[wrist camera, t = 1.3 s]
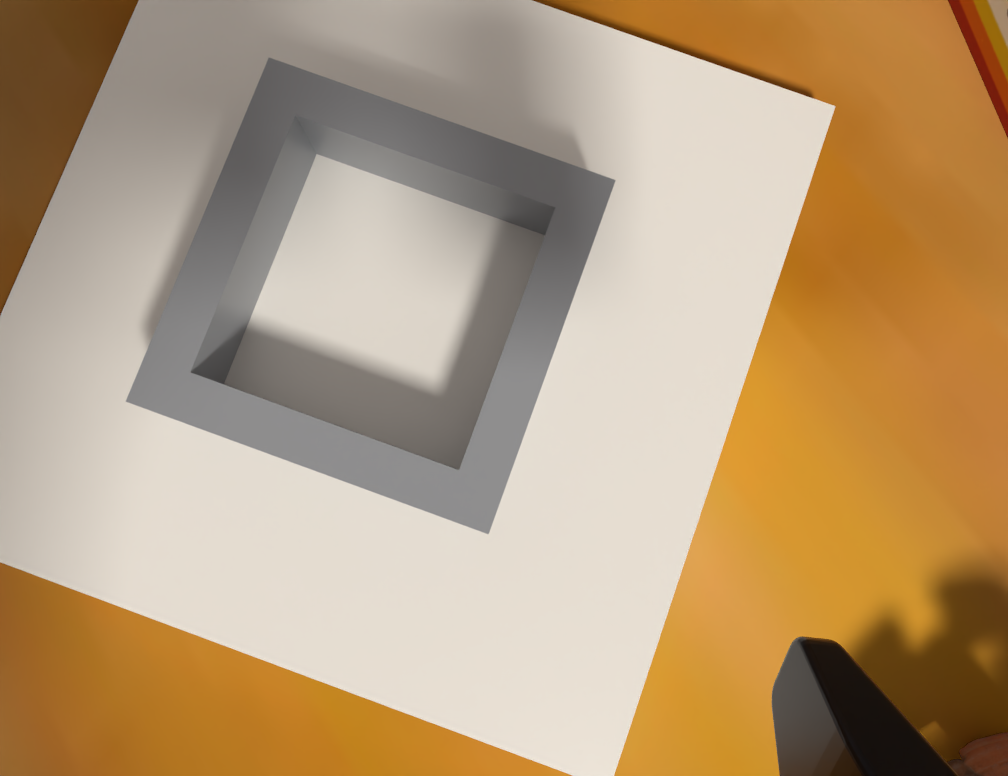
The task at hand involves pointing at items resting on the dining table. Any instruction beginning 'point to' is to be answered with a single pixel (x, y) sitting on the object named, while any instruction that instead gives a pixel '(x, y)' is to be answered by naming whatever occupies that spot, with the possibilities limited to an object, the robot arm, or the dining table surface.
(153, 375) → the square socket base
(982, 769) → the pottery mug
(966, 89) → the dining table surface
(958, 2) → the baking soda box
